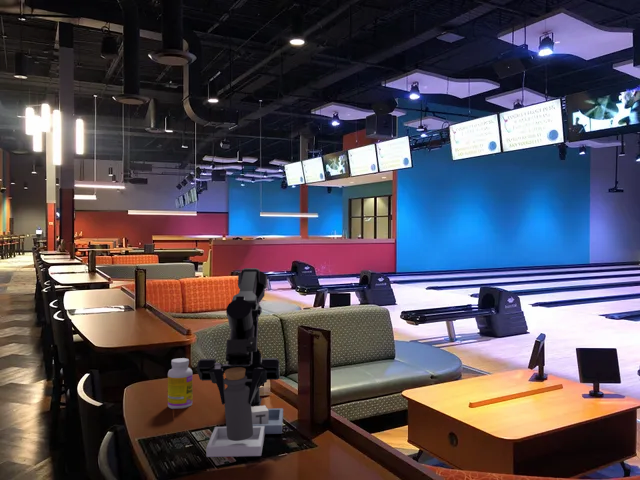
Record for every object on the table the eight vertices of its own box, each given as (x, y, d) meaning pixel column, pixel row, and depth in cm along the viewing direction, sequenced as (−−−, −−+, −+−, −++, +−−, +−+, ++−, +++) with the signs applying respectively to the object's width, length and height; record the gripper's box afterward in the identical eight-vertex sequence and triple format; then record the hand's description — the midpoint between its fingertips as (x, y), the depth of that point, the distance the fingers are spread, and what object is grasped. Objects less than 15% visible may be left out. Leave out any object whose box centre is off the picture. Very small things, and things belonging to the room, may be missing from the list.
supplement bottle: (188, 410, 141) (188, 363, 141) (164, 410, 141) (164, 363, 141) (195, 402, 148) (195, 357, 148) (172, 402, 148) (171, 357, 148)
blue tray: (238, 418, 135) (238, 409, 135) (283, 417, 136) (283, 408, 136) (232, 436, 124) (232, 425, 124) (281, 435, 124) (281, 425, 124)
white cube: (249, 422, 131) (249, 406, 131) (265, 421, 132) (265, 405, 132) (252, 428, 127) (252, 412, 127) (268, 426, 128) (268, 410, 128)
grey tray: (215, 437, 123) (215, 426, 123) (264, 436, 123) (264, 426, 123) (206, 459, 111) (206, 447, 111) (261, 458, 112) (260, 446, 112)
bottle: (254, 438, 115) (249, 371, 115) (227, 442, 114) (222, 374, 114) (252, 429, 121) (246, 365, 121) (226, 433, 120) (221, 368, 119)
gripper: (198, 324, 120) (188, 386, 110) (279, 323, 121) (277, 385, 111) (204, 349, 129) (195, 410, 118) (280, 349, 129) (278, 409, 119)
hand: (236, 403), depth 116 cm, fingers closed on bottle, 6 cm apart
